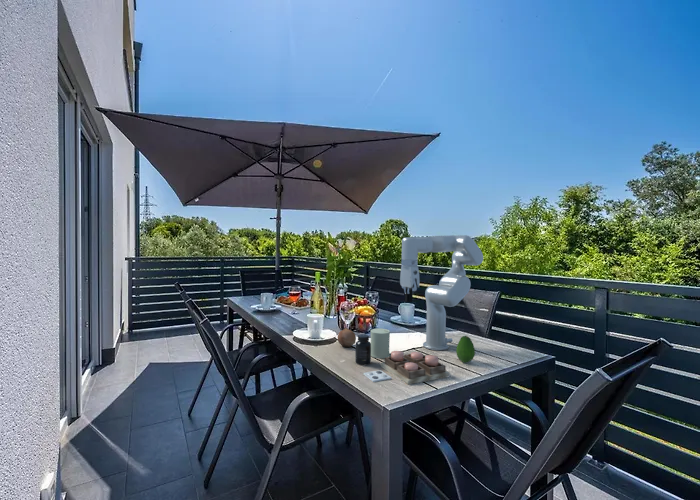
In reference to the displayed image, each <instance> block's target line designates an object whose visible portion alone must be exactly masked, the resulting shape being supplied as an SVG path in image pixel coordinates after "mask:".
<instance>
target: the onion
mask: <svg viewBox="0 0 700 500" xmlns="http://www.w3.org/2000/svg"><path fill="white" fill-rule="evenodd" d="M356 340H357V336H356V333H355V331H352V330H351V329H349V328H347V327H345V328H343V329H342V330H340V331H339V332H338V334H337V341H338V344H340V346H341V347H343V348H351V347H352V346H353V345H354V344H355V345H356V342H357V341H356Z"/></svg>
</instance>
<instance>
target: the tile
mask: <svg viewBox="0 0 700 500" xmlns="http://www.w3.org/2000/svg"><path fill="white" fill-rule="evenodd" d="M363 376H365V377H366V378H368V379H369V380H370V381H371V382H372V383H376V382H382V381H385V380H391V379H392V377H391V376H390V375H389V374H388V373H385V372H384V371H383V370H381V369H380V370H372V371H367V372H363Z"/></svg>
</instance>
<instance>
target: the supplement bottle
mask: <svg viewBox="0 0 700 500" xmlns="http://www.w3.org/2000/svg"><path fill="white" fill-rule="evenodd" d="M369 340H370V335H368V334H363V333H362V334H358V335H357V341H355V351H354V353H355V358H354V359H355V363H356V364H357V365H359V366H368V365H370V364H371V363H372V361H371V360H372V356H371V341H369Z"/></svg>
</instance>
